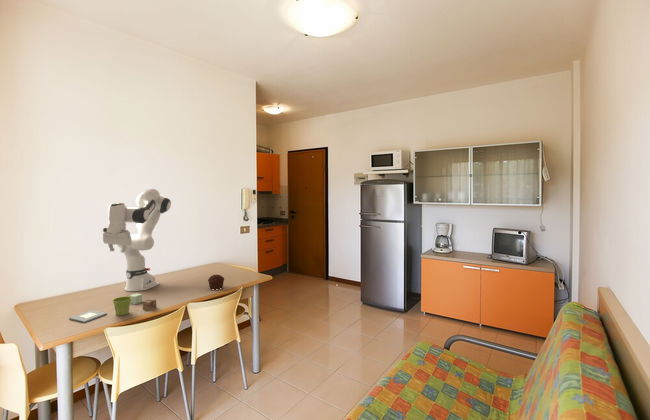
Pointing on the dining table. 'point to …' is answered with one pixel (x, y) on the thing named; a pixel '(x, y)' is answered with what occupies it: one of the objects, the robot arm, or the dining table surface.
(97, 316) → the pad
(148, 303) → the block
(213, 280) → the muffin
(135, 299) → the block
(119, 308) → the plant pot
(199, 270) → the dining table surface
